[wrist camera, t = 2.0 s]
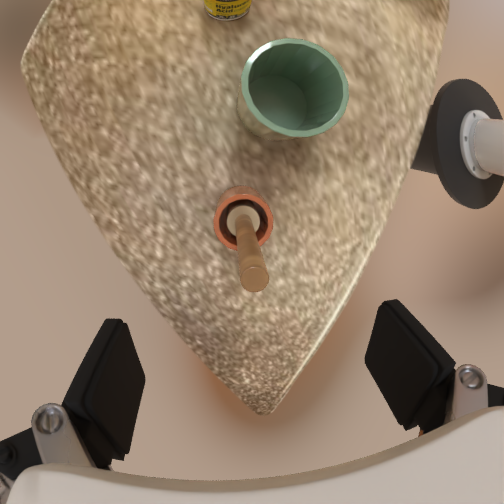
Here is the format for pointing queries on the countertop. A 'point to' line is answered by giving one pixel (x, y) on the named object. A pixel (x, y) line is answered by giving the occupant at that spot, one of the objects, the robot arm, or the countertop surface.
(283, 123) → the tumbler
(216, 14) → the supplement bottle
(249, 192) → the holder
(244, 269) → the brush
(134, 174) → the countertop surface
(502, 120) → the robot arm
